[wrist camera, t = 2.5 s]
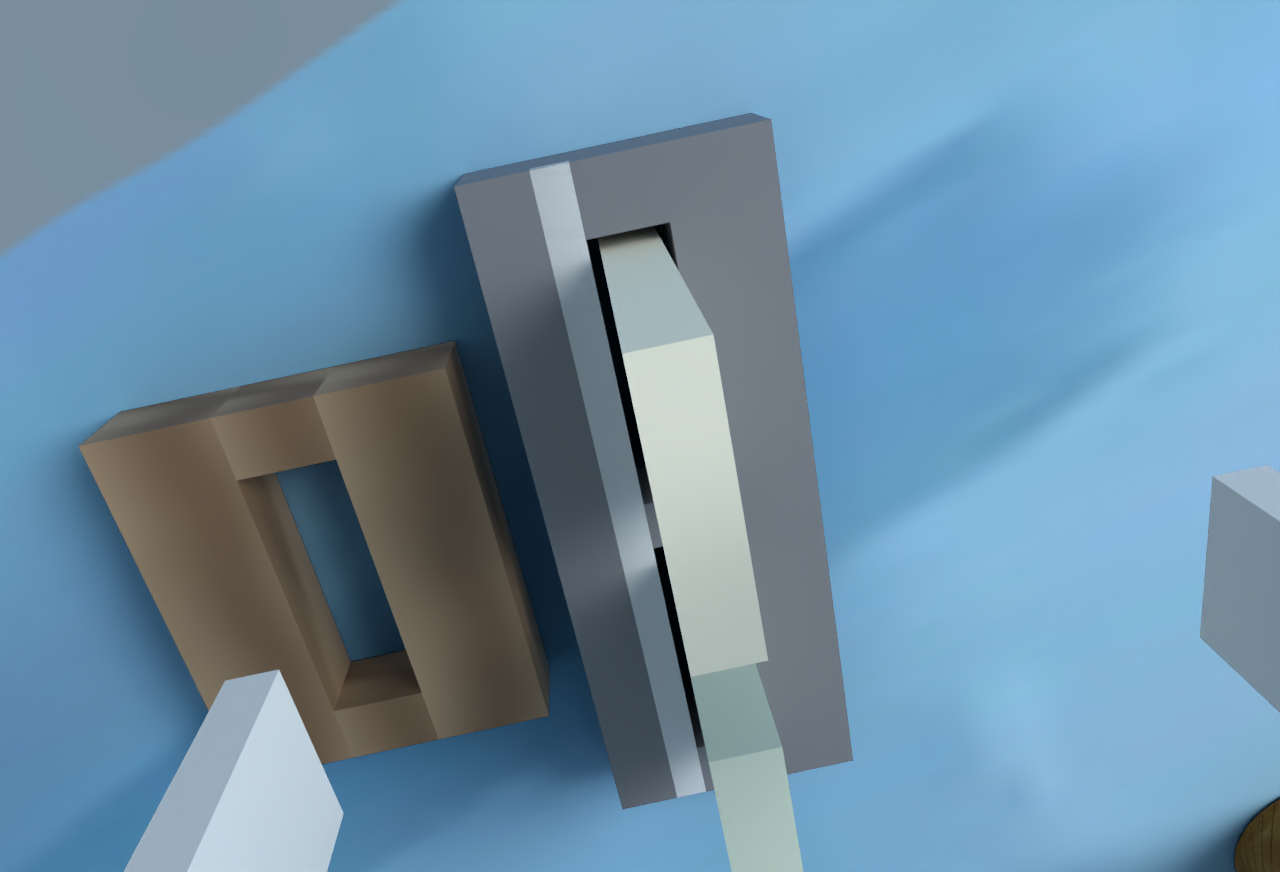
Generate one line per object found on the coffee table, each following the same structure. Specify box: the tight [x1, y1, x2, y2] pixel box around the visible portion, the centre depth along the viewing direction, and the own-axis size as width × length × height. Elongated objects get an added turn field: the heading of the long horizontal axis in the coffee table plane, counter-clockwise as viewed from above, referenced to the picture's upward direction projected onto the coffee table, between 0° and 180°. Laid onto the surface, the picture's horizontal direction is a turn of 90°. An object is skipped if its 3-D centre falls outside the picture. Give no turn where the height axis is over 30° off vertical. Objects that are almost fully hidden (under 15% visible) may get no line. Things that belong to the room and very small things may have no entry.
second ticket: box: [670, 581, 803, 872], centre depth 26 cm, size 2×7×11 cm, turn 11°
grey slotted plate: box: [454, 113, 853, 809], centre depth 28 cm, size 8×21×2 cm, turn 11°
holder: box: [79, 341, 550, 764], centre depth 28 cm, size 10×12×2 cm
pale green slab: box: [598, 226, 768, 677], centre depth 22 cm, size 2×7×11 cm, turn 11°
